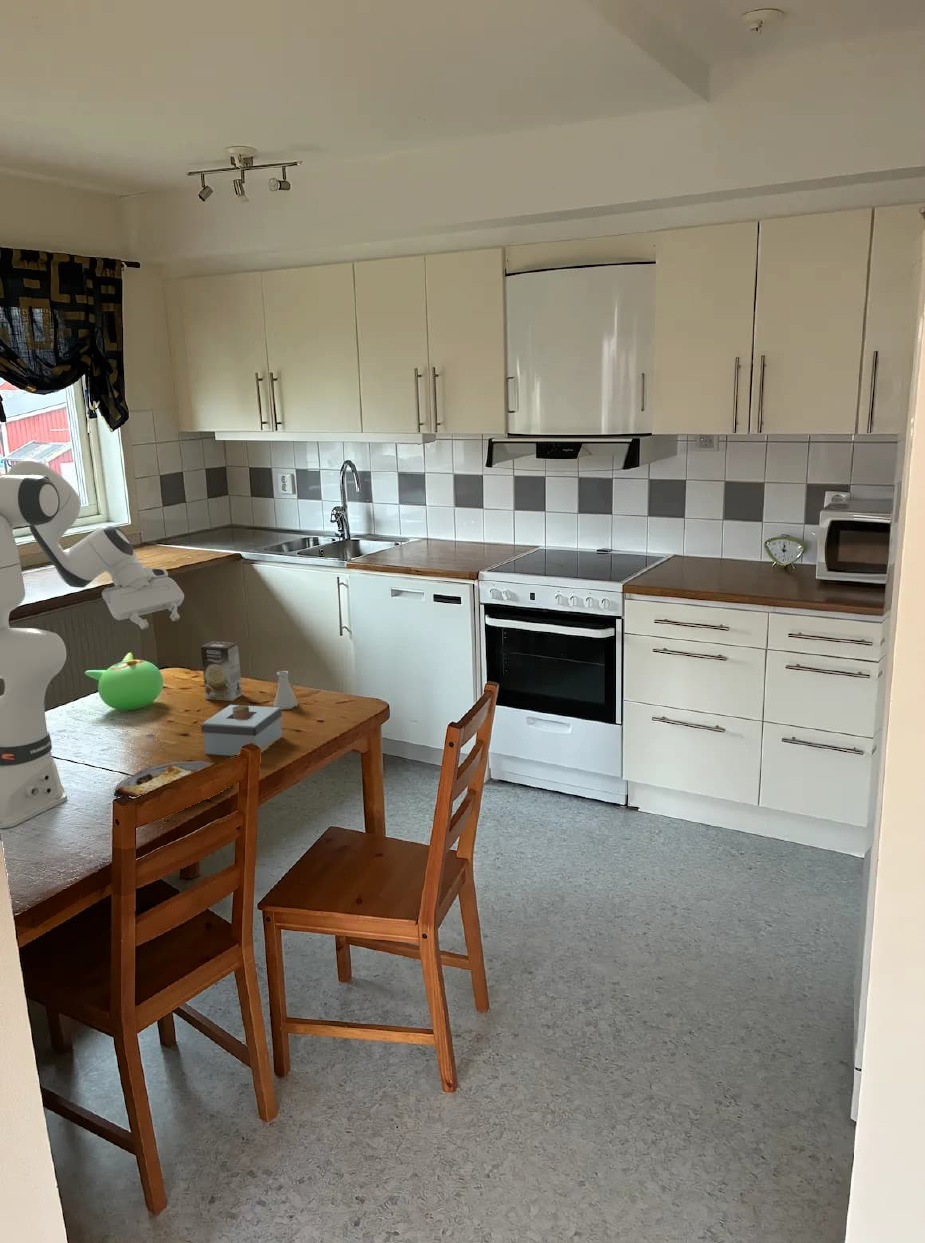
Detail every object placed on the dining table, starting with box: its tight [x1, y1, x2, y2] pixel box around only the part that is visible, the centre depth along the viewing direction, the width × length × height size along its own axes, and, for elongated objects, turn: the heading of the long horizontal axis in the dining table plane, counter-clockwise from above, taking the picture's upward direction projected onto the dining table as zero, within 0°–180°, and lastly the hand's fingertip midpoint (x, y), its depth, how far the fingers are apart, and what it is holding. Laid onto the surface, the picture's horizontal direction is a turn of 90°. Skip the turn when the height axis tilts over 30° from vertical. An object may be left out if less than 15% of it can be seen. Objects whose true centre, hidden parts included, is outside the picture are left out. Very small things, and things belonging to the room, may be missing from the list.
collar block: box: [200, 704, 283, 757], centre depth 236 cm, size 14×14×8 cm
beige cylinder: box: [232, 704, 250, 720], centre depth 236 cm, size 4×4×10 cm
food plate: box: [113, 760, 215, 799], centre depth 212 cm, size 25×23×4 cm
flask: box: [272, 670, 299, 711], centre depth 265 cm, size 7×7×10 cm
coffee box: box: [200, 640, 243, 702], centre depth 275 cm, size 9×6×16 cm
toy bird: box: [84, 652, 164, 711], centre depth 268 cm, size 18×17×15 cm
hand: (161, 623), depth 243 cm, fingers open, 8 cm apart
